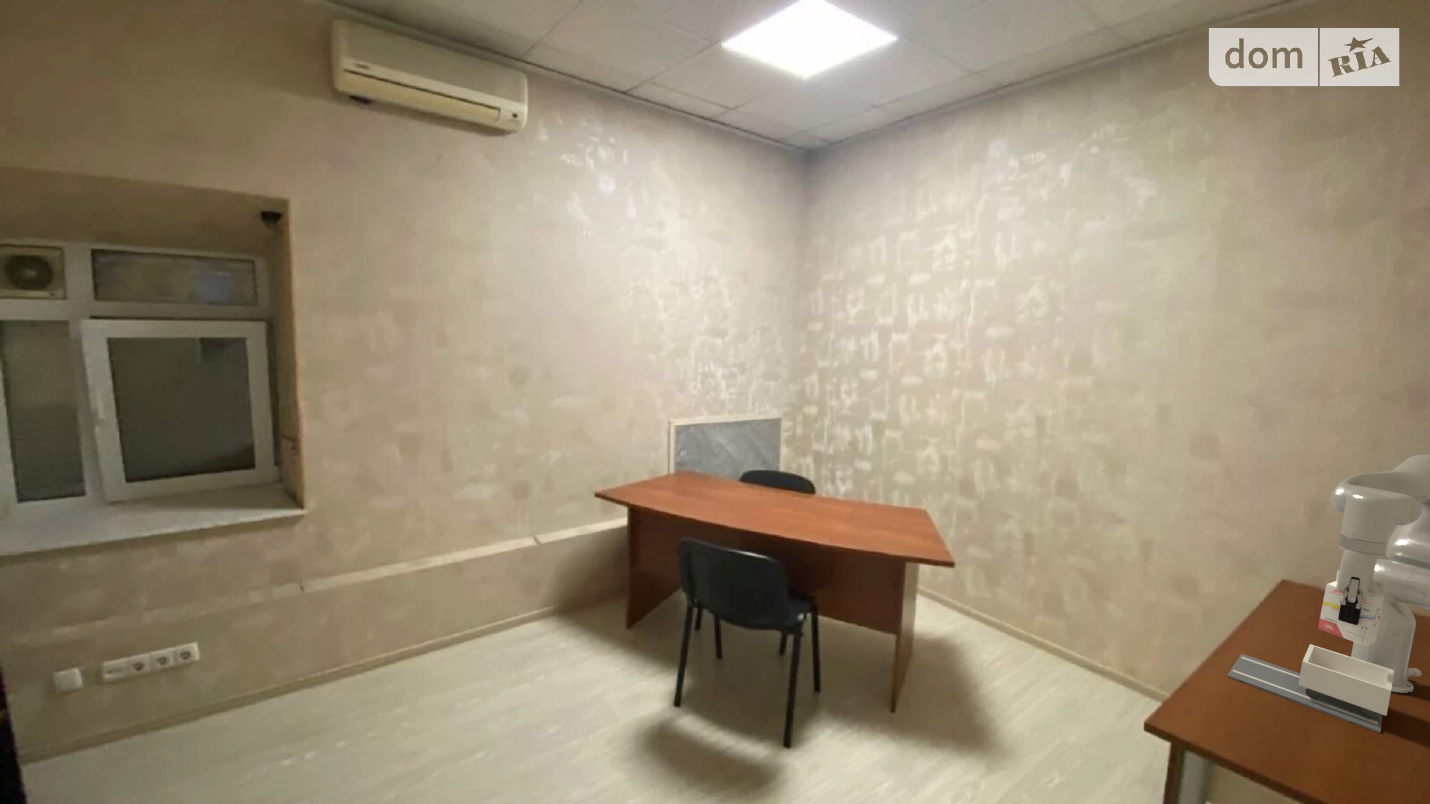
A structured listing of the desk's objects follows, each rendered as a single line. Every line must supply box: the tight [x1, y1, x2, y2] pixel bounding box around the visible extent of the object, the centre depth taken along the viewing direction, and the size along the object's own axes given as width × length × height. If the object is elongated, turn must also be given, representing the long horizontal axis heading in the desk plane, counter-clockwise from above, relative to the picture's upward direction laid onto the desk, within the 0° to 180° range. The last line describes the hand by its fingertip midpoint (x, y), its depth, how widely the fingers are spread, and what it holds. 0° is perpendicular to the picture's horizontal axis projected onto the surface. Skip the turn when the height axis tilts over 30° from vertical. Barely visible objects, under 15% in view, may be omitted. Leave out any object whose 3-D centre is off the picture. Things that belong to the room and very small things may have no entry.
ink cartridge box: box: [1317, 569, 1385, 646], centre depth 138 cm, size 9×5×15 cm, turn 26°
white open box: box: [1298, 643, 1394, 719], centre depth 139 cm, size 14×14×8 cm
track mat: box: [1226, 653, 1384, 734], centre depth 145 cm, size 18×26×1 cm
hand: (1349, 617), depth 138 cm, fingers closed on ink cartridge box, 5 cm apart
